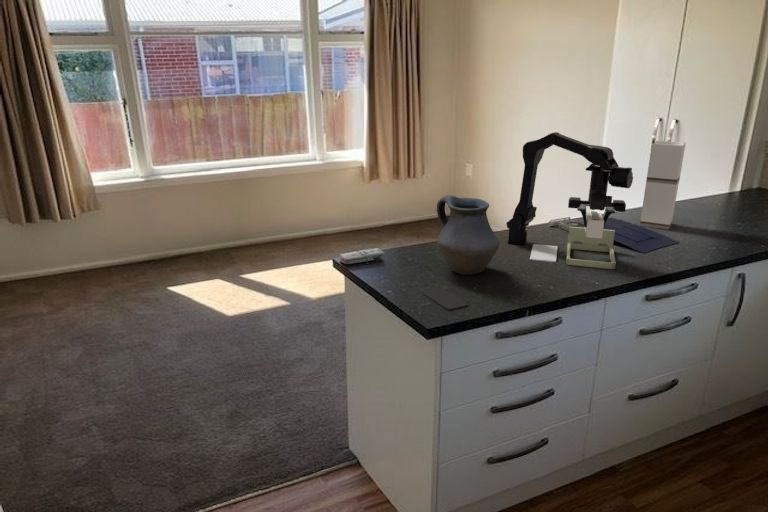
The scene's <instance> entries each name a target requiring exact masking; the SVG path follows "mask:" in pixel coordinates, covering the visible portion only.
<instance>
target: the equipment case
mask: <svg viewBox="0 0 768 512" xmlns="http://www.w3.org/2000/svg"><path fill="white" fill-rule="evenodd" d="M614 234H615V230H606V229H603V234H602V238H591V237H587V236H586V232H585V228H581V227H569V231H568V236H567V237H568V238H567V245H566V249H567V250H566V260H565V261H566V263H565V265H566V266H567V265H568V266H578V267H588V268H597V269H609V270H616V266H617V264H616V263H617V262H616V258H615V252H614V241H615V240H614ZM571 250H580V251H582V250H583V251H591V252H592V251H593V252H605V253H609V259H610V261H600V260H599V261H598V260H590V259H580V258H579V259H578V258H571Z"/></svg>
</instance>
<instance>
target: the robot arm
mask: <svg viewBox="0 0 768 512" xmlns="http://www.w3.org/2000/svg"><path fill="white" fill-rule="evenodd" d="M552 146H555V147H559V148H560V149H561V148H562V149H563V150H566V151H569V152H571V153H574V154H577V155H579V156H581V157H584V159H585V160H587V161H588V162H589V163H590V164H589V166H588V167H586V168H585V171H588V172H591V174H590V182H589V193H588V199H587V200H584V199H583V200H581V197H577V196H570V197H569V198H568V205H567V206H568V207H567V208H569V209H577V211H578V212H580V213H581V216H582V221H583V224H584V225H585V227H586V225H587V220H586V212H587V207H589V210H591V211H595V210H597V211H598V210H599V211H604V213H603V215H602V217H603V220H604V225H605V223H606V221H607V219H608V218H610V215H613V214H616V212H623V213H624V212H626V207H627V204H626V202H625V201H624V200H622V199H621V200H620V199H613V196H612V195H607V194H608V187H609V186H608V185H610V186H611V187H614V188H624V189H630V188H631V187H632V184H633V182H634V176H633V171H632V170H633V168H632V167H623V166H622V167H620V166H619V164H618V162H617V161H616V159H615V157H614V152H613V149H611V148H610V147H608V146H603V145H597V144H596V145H595V144H588V143H585V142H583V141H580V140H577V139H574V138H572V137H569V136H566V135H564V134H561V133H560V132H557V131H555V132H551V133H548V134H547V135H545V136H543V137H541V138H538V139H535V140H530V141H527V142H526V143H524V144H523V146H522V159H523V163H524V168H523V175H522V176H523V177H522V181H521V182H522V183H521V188H520V196H519V200H518V201H519V202H518V204H517V205H516V207H515V209H514V212H513V215H512V218H511V219H509V220H508V221H507V222H506V223H505V224H506V228H507V229H508V237H507V238H508V241H507V244H509V245H510V244H511V245H521V246H524V245H525V244H526V243H527V242H528V232H529V231H528V230H527V227H528V226H529V225H530V223H531V222H532V221H534V218H536V217H537V216H536V212H537V210H538V209H537V206H534V204H533V197H534V192H535V185H536V179H537V172H538V166H539V164H540V162H541V161H542V159H543V156H544V152H545V151H546V149H549V148H551V147H552ZM612 200H613V201H612ZM603 227H604V226H603Z"/></svg>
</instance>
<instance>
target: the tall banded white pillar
mask: <svg viewBox="0 0 768 512" xmlns="http://www.w3.org/2000/svg"><path fill="white" fill-rule="evenodd" d="M654 142H655V143H654ZM654 142H653V143H651V148H650V153H649V159H648V161H649V162H648V167H647V176H646V181H645V187H644V195H643V199H642V206H641V207H642V209H641V215H640V219H639V222H640V223H639V226H641V227H645V228H646V227H647V228H652V229H653V228H655V229H661V230H668V229H669V230H670V228H671V227H672V225H673V221H674V220H673V218H674V212H675V207H676V201H677V194H678V189H679V184H680V179H681V173H682V167H683V161H684V157H685V156H684V155H685V149H686V142H680V141H667V140H666V141H665V140H655V141H654ZM671 224H672V225H671ZM670 226H671V227H670Z"/></svg>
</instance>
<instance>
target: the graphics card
mask: <svg viewBox="0 0 768 512" xmlns="http://www.w3.org/2000/svg"><path fill="white" fill-rule="evenodd" d="M582 224H584V222H580V221H577V220H574V219H572V218H571V216H567V217H562V218H555V219H550V220H549V221H548V226H547V227H548V228H551V227H550V226H554V227H555V228H558V229H559V228H560V229H561V230H565V231H566V232H569V227H581V228H585V226H583V225H582ZM554 227H553V228H554Z"/></svg>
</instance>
